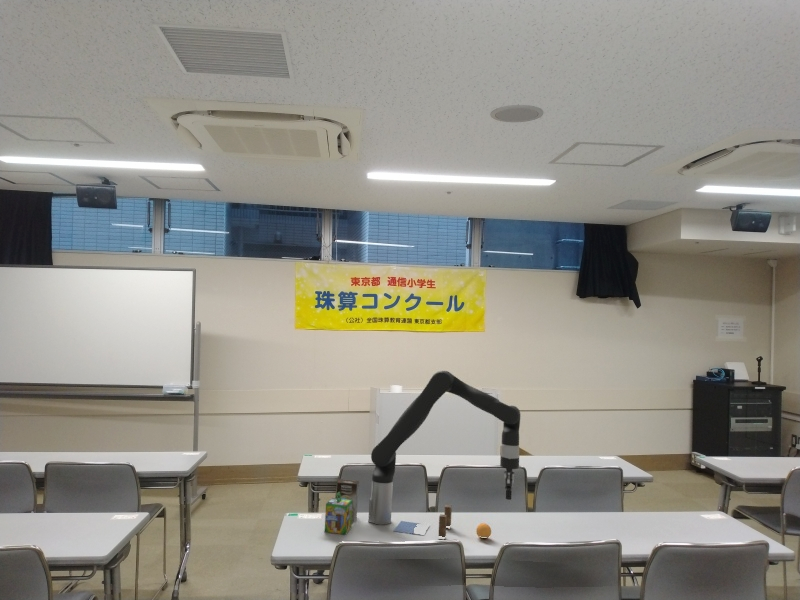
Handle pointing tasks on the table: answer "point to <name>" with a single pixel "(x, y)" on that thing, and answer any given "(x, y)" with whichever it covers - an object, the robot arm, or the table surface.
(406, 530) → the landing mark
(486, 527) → the ball
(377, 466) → the robot arm
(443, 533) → the post
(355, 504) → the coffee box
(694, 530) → the table surface
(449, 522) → the post
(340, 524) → the chalk box
